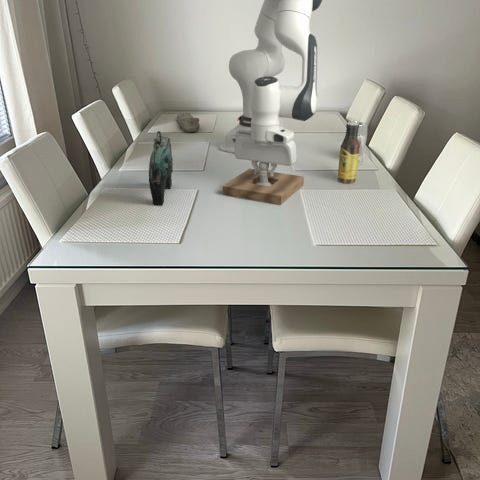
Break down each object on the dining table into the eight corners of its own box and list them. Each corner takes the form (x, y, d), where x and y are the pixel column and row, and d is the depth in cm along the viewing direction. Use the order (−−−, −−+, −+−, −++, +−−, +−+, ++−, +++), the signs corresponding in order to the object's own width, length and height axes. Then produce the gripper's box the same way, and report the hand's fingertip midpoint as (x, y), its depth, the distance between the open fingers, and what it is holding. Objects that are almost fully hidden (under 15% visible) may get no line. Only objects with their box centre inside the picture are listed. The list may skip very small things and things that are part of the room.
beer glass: (364, 166, 184) (368, 125, 177) (345, 165, 185) (348, 125, 179) (363, 160, 190) (368, 121, 183) (345, 159, 191) (349, 120, 185)
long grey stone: (193, 120, 263) (174, 122, 261) (192, 110, 260) (173, 112, 259) (203, 132, 231) (182, 134, 229) (202, 120, 229) (180, 123, 227)
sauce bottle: (335, 178, 171) (340, 120, 163) (352, 177, 172) (358, 120, 163) (340, 184, 165) (345, 125, 157) (358, 184, 166) (364, 125, 157)
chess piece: (269, 191, 158) (269, 164, 154) (253, 189, 160) (253, 162, 156) (273, 185, 163) (274, 159, 159) (258, 183, 164) (258, 157, 160)
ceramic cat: (159, 184, 167) (154, 125, 158) (178, 184, 167) (174, 125, 158) (147, 206, 149) (141, 141, 140) (168, 206, 149) (164, 141, 140)
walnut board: (222, 195, 157) (222, 186, 156) (249, 176, 173) (249, 168, 172) (280, 205, 149) (281, 195, 148) (303, 185, 165) (303, 176, 164)
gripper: (230, 131, 155) (231, 173, 161) (291, 138, 147) (289, 182, 153) (239, 126, 160) (239, 167, 166) (299, 133, 152) (297, 176, 158)
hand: (264, 175), depth 159 cm, fingers closed on chess piece, 3 cm apart
